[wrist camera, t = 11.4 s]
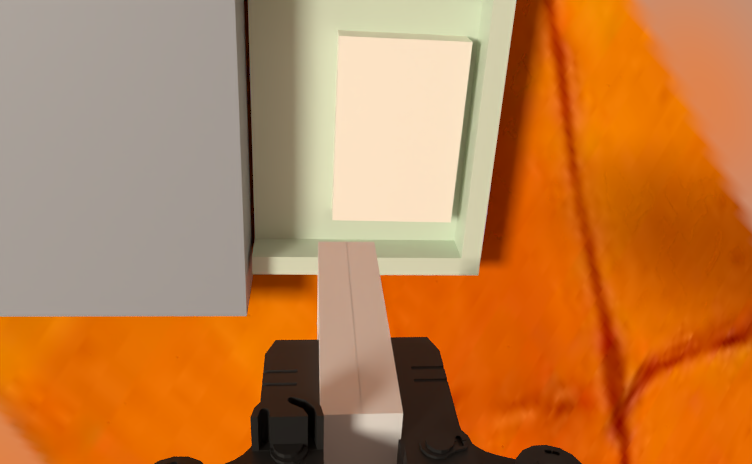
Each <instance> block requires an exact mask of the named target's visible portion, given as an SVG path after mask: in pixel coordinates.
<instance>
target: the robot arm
mask: <svg viewBox="0 0 752 464" xmlns="http://www.w3.org/2000/svg"><path fill="white" fill-rule="evenodd" d="M251 436H252V446H251V448H250V449H249V450H248V451H246V452H245V453H244V454H243V455H242V456H240V457H238V458H237V459H235V460H233V461H231V462H228V463H225V464H582V463H580V462H579V461H578V460H577V459H576V458H575V457H574V456H573V455H572V454H570V453H568V452H566V451H564V450H562V449H560V448H557V447H552V446H548V445H538V446H531V447H529V448H527V449H525V450H523V451H522V452H521V453H520V454H519V456H518V457H517V458H516V459H512V458H507V457H503V456H499V455H495V454H492V453H489V452H485V451H484V450H482V449H480V448H478V447H476V446H475V445H474V444H472V442H471V440H470V439H469V437H468V435H467V434H465V433H464V432H463V431H462V430H461V428H460V426H459V422H458V419H457V415H456V411H455V407H454V404H453V400H452V396H451V392H450V389H449V385H448V382H447V377H446V374H445V370H444V368H443V362H442V359H441V355H440V351H439V350H438V349H437V348H436V346H435V345H434V344H433V343H432V342H431V341H430V340H429V339H428V338H427V337H396V338H390V332H389V326H388V320H387V314H386V308H385V302H384V296H383V290H382V284H381V278H380V272H379V266H378V261H377V255H376V249H375V243H374V242H318V311H317V340H276V341H275V342H274V343H273V345H272V346H271V347H270V349H269V350H268V351H267V353H266V354H265V361H264V373H263V381H262V391H261V402H260V403H259V404H258V405H257V406H256V407H255V408H254V410H253V413H252V415H251ZM155 464H203V463H202V462H201V461H199V460H196V459H193V458H190V457H171V458H167V459H164V460H160V461H158V462H156V463H155Z"/></svg>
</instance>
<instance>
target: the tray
mask: <svg viewBox="0 0 752 464" xmlns="http://www.w3.org/2000/svg"><path fill="white" fill-rule="evenodd" d="M515 7H516V0H248V22H249V56H250V90H251V124H252V158H253V192H254V226H255V241H254V247H253V253H252V274H291V275H318V242H374V243H375V249H376V255H377V261H378V266H379V272H380V275H478V273H479V266H480V259H481V252H482V244H483V237H484V230H485V223H486V216H487V209H488V201H489V194H490V187H491V180H492V173H493V165H494V158H495V151H496V144H497V137H498V129H499V122H500V115H501V108H502V101H503V94H504V86H505V79H506V72H507V65H508V58H509V50H510V43H511V36H512V29H513V22H514V14H515ZM338 30H347V31H368V32H390V33H411V34H432V35H453V36H467V37H468V38H469V39H470V40H471V41H472V42H473V44H472V52H471V60H470V68H469V76H468V85H467V93H466V101H465V109H464V117H463V126H462V134H461V142H460V150H459V159H458V167H457V175H456V183H455V191H454V200H453V208H452V216H451V222H398V221H344V220H332V186H333V158H334V129H335V100H336V72H337V43H338Z"/></svg>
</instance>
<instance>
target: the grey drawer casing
mask: <svg viewBox="0 0 752 464" xmlns="http://www.w3.org/2000/svg"><path fill="white" fill-rule="evenodd" d="M252 279H253V274H252V226H251V194H250V163H249V131H248V99H247V68H246V36H245V4H244V0H0V316H247V311H248V305H249V298H250V292H251V285H252Z"/></svg>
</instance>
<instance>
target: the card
mask: <svg viewBox="0 0 752 464" xmlns="http://www.w3.org/2000/svg"><path fill="white" fill-rule="evenodd" d="M472 44H473V42H472V41H471V40H470V39H469V38H468V37H467V36H453V35H432V34H411V33H390V32H368V31H347V30H338V43H337V72H336V100H335V129H334V158H333V186H332V220H344V221H398V222H451V216H452V208H453V200H454V191H455V183H456V175H457V167H458V159H459V150H460V142H461V134H462V126H463V117H464V109H465V101H466V93H467V85H468V76H469V68H470V60H471V52H472Z"/></svg>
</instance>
